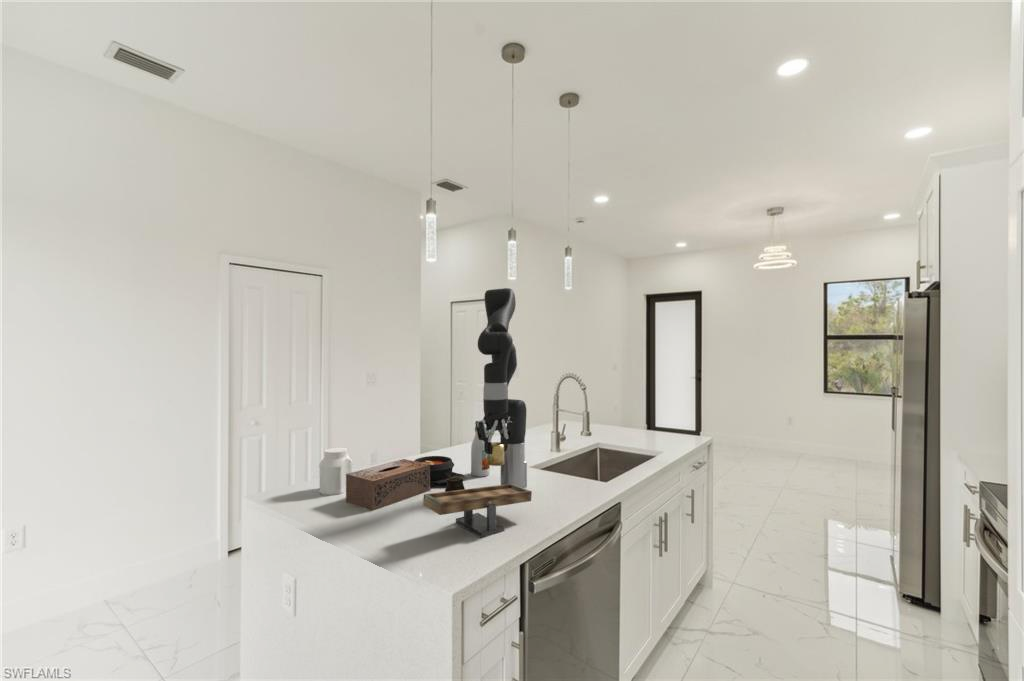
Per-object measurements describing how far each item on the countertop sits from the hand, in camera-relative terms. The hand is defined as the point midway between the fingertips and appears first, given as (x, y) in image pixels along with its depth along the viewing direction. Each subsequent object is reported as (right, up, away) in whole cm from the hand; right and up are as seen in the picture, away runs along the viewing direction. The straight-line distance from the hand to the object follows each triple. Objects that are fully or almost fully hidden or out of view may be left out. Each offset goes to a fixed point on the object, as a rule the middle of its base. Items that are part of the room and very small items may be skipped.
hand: (496, 452), depth 142 cm
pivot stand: (-5, -21, -4) cm, 22 cm away
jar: (-61, -22, +31) cm, 72 cm away
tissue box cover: (-39, -22, +24) cm, 51 cm away
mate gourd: (-15, -22, +18) cm, 32 cm away
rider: (0, -4, 0) cm, 4 cm away
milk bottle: (-8, -22, +51) cm, 56 cm away
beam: (-5, -13, -4) cm, 15 cm away
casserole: (-27, -22, +42) cm, 55 cm away
